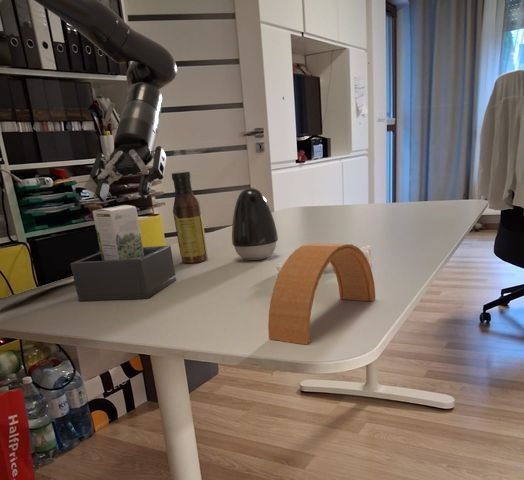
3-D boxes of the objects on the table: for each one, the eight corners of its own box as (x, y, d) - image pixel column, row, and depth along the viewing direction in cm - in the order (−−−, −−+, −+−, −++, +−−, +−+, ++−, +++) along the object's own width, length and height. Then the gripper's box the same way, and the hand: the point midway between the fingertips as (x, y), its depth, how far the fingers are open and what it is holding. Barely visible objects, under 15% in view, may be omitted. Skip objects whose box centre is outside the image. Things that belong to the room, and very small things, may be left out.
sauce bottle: (191, 258, 125) (178, 171, 118) (213, 258, 123) (201, 169, 115) (175, 264, 120) (161, 173, 113) (198, 264, 117) (185, 171, 110)
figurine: (375, 258, 104) (289, 271, 110) (372, 232, 102) (284, 247, 108) (368, 281, 88) (268, 296, 94) (363, 251, 87) (262, 268, 93)
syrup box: (131, 280, 103) (116, 205, 98) (150, 282, 100) (136, 204, 95) (107, 287, 99) (90, 209, 94) (125, 290, 96) (109, 209, 91)
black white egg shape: (238, 265, 112) (229, 191, 106) (231, 257, 121) (223, 189, 116) (284, 258, 113) (278, 186, 108) (273, 251, 123) (267, 184, 118)
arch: (376, 299, 78) (375, 231, 74) (306, 344, 63) (300, 263, 59) (341, 296, 81) (338, 231, 77) (267, 338, 66) (259, 261, 63)
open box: (78, 301, 96) (69, 263, 93) (113, 283, 107) (106, 249, 105) (148, 298, 92) (141, 259, 90) (176, 280, 104) (170, 245, 101)
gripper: (95, 120, 101) (76, 187, 95) (162, 111, 98) (147, 180, 92) (114, 149, 108) (97, 212, 102) (178, 141, 104) (164, 207, 98)
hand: (121, 197), depth 97 cm, fingers open, 8 cm apart
